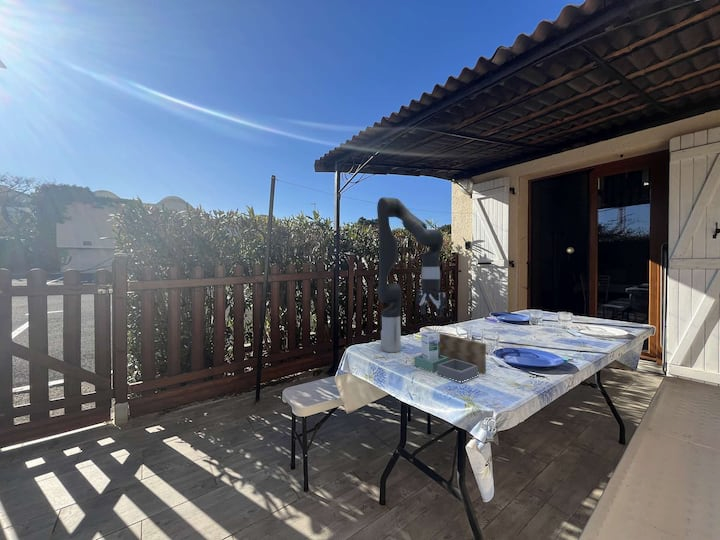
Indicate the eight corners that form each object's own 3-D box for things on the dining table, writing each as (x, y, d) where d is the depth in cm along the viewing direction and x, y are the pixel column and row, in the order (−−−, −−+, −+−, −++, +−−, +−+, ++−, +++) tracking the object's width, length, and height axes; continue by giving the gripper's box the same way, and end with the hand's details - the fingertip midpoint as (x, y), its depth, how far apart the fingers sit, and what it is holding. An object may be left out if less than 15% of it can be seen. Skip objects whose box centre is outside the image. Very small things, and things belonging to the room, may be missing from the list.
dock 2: (437, 374, 123) (437, 364, 123) (454, 368, 130) (454, 358, 130) (461, 383, 114) (461, 372, 114) (478, 375, 121) (478, 365, 121)
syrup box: (428, 369, 129) (428, 334, 128) (421, 364, 135) (421, 331, 134) (440, 367, 131) (440, 333, 130) (433, 363, 137) (432, 330, 136)
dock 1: (414, 365, 134) (414, 356, 133) (430, 360, 140) (429, 351, 139) (432, 372, 126) (432, 362, 125) (448, 366, 132) (448, 357, 131)
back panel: (433, 358, 142) (433, 332, 142) (435, 357, 143) (435, 331, 143) (483, 374, 122) (483, 344, 122) (485, 373, 123) (485, 343, 123)
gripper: (411, 277, 134) (412, 314, 135) (438, 279, 123) (438, 319, 124) (423, 276, 138) (424, 312, 139) (450, 277, 127) (450, 317, 128)
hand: (431, 315), depth 131 cm, fingers open, 8 cm apart
